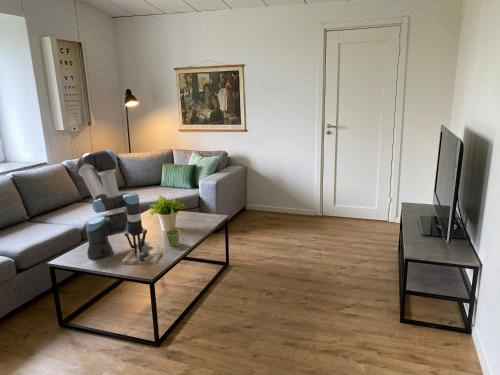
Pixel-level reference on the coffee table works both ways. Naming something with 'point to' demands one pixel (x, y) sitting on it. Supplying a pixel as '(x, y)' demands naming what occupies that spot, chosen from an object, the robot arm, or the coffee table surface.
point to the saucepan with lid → (143, 253)
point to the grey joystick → (144, 242)
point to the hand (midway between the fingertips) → (138, 257)
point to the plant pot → (173, 237)
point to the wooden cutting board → (149, 259)
